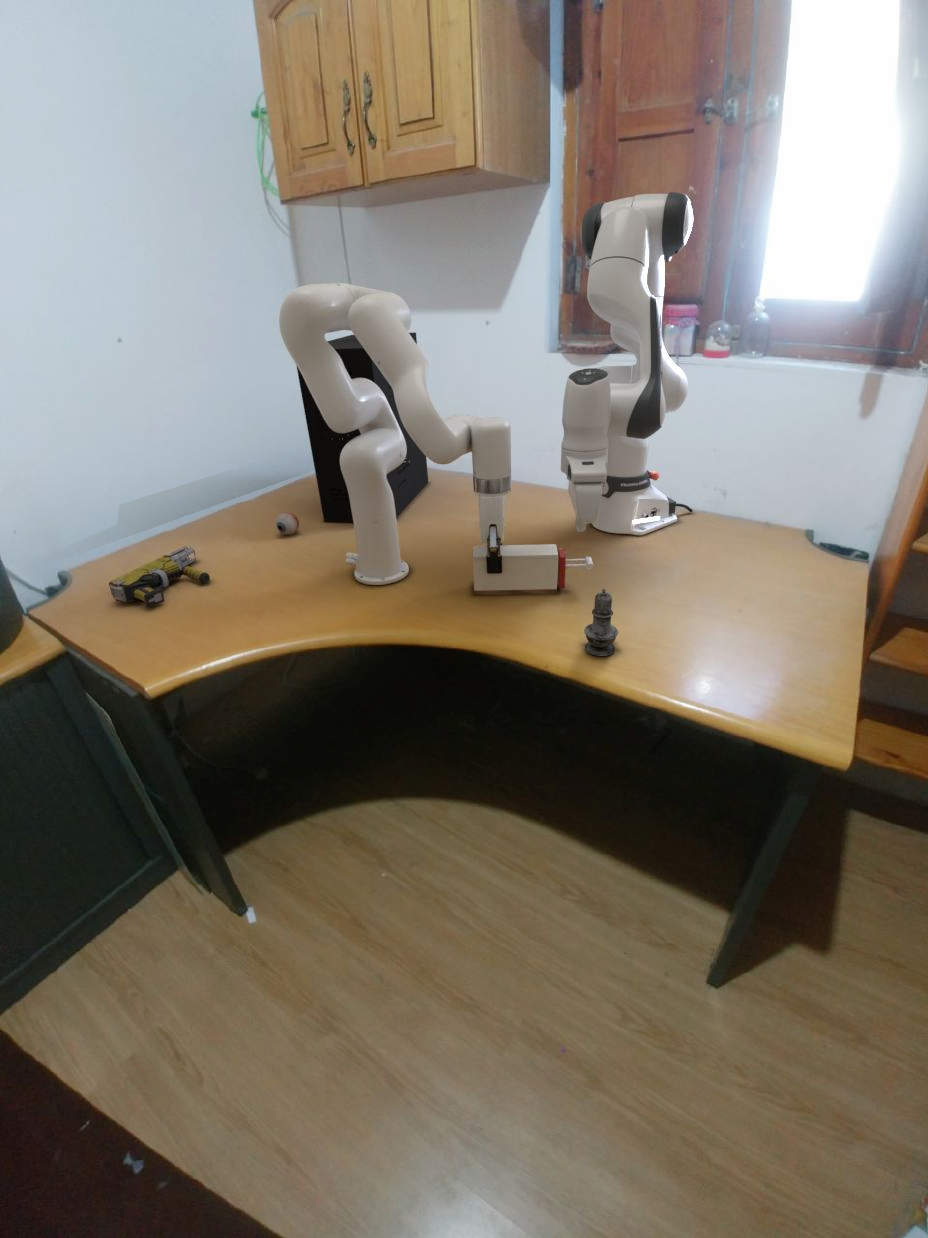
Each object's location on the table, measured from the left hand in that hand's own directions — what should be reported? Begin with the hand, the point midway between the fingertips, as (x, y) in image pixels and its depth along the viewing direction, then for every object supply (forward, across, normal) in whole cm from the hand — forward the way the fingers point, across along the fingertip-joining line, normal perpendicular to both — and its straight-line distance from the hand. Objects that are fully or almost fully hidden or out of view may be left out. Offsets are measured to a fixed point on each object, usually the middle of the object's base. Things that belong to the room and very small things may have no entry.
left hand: (494, 565), depth 128 cm
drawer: (+5, 0, +9) cm, 11 cm away
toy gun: (+5, -5, -75) cm, 75 cm away
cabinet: (+5, 0, +4) cm, 7 cm away
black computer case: (+5, -61, -36) cm, 71 cm away
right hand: (-8, 0, +18) cm, 19 cm away
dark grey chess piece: (+5, +24, +19) cm, 31 cm away
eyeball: (+5, -35, -57) cm, 67 cm away
